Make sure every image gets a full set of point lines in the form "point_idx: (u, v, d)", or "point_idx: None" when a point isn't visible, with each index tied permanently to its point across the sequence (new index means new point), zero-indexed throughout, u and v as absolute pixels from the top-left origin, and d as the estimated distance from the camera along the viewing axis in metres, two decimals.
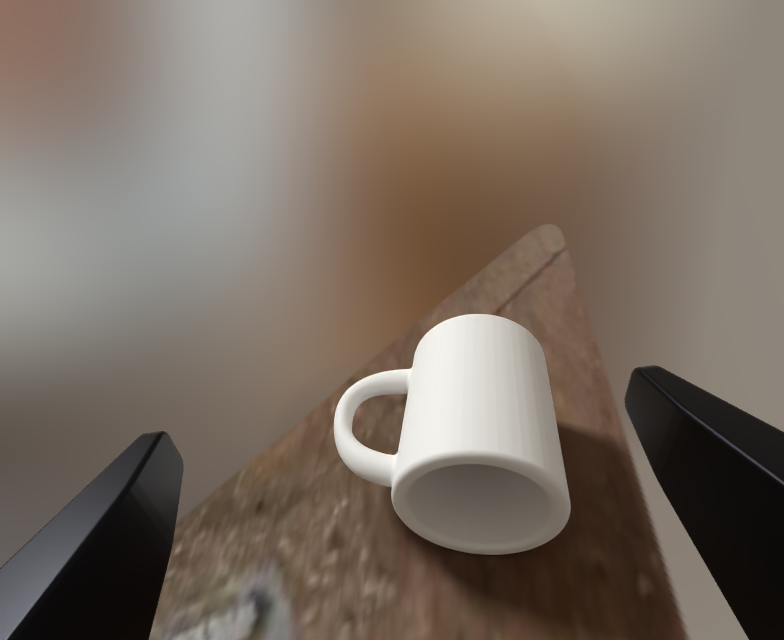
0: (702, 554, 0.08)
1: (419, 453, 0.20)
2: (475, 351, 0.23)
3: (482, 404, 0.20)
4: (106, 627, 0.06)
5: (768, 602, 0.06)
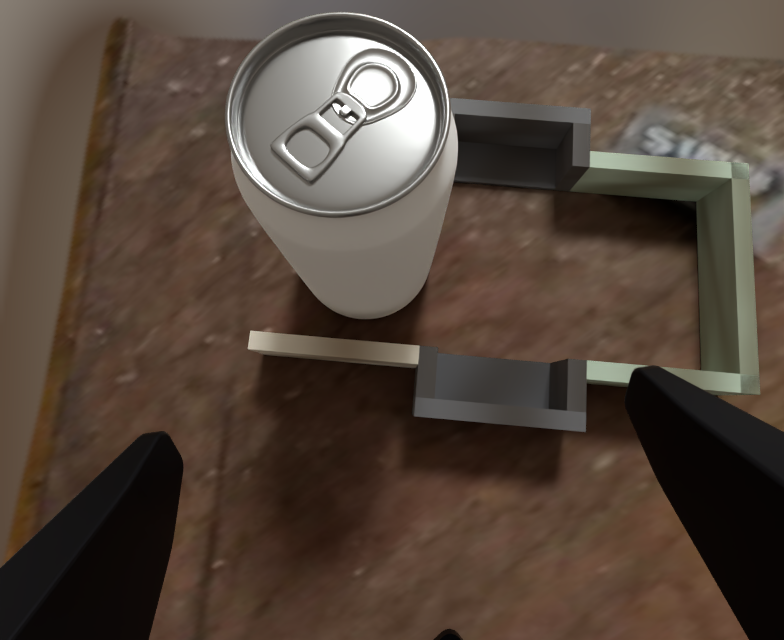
0: (702, 554, 0.08)
1: None
2: None
3: None
4: (106, 627, 0.06)
5: (768, 602, 0.06)
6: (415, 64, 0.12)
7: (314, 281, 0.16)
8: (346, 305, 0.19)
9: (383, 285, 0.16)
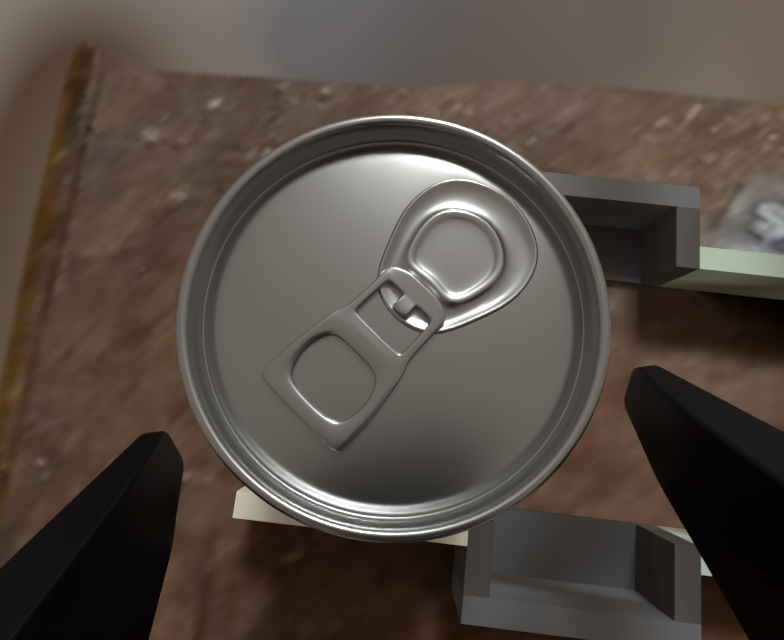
0: (702, 554, 0.08)
1: None
2: None
3: None
4: (106, 627, 0.06)
5: (768, 602, 0.06)
6: (534, 213, 0.06)
7: None
8: None
9: None
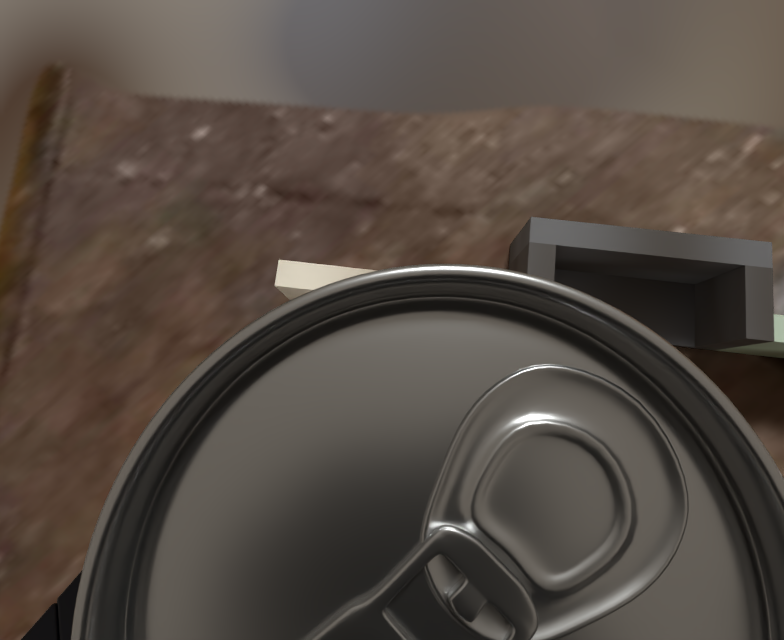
0: None
1: None
2: None
3: None
4: None
5: None
6: (677, 426, 0.04)
7: None
8: None
9: None
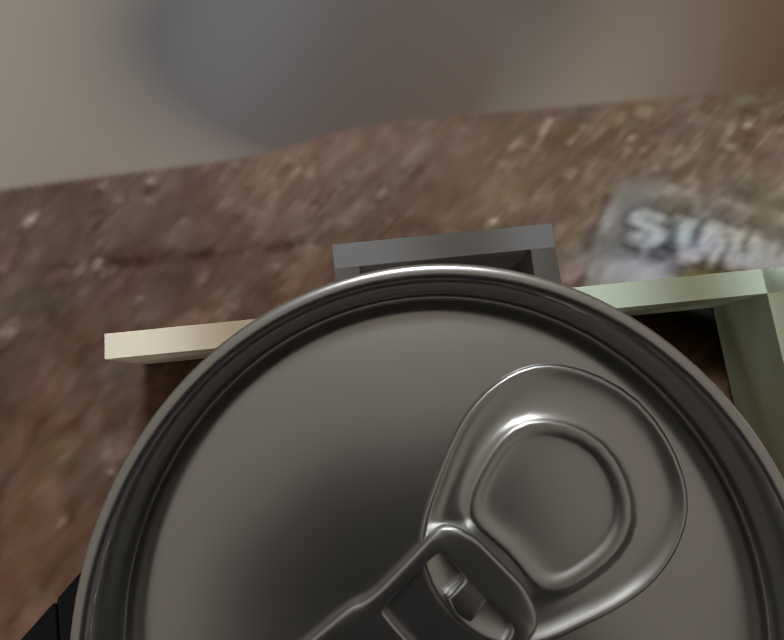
0: None
1: None
2: None
3: None
4: None
5: None
6: (676, 425, 0.04)
7: None
8: None
9: None
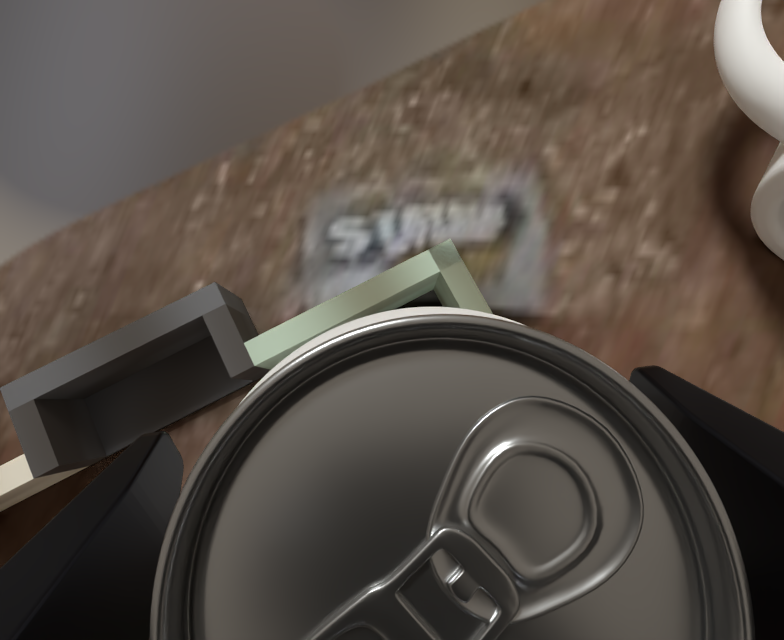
0: None
1: None
2: None
3: None
4: (106, 627, 0.06)
5: (768, 602, 0.06)
6: (637, 448, 0.05)
7: None
8: None
9: None
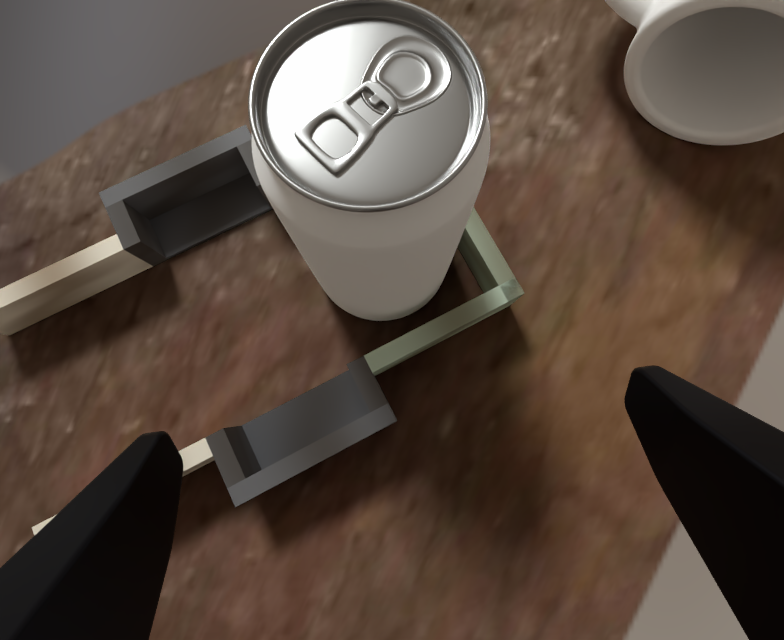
0: (702, 554, 0.08)
1: None
2: None
3: None
4: (106, 627, 0.06)
5: (768, 602, 0.06)
6: (450, 54, 0.11)
7: (330, 279, 0.16)
8: (360, 305, 0.18)
9: (401, 286, 0.15)
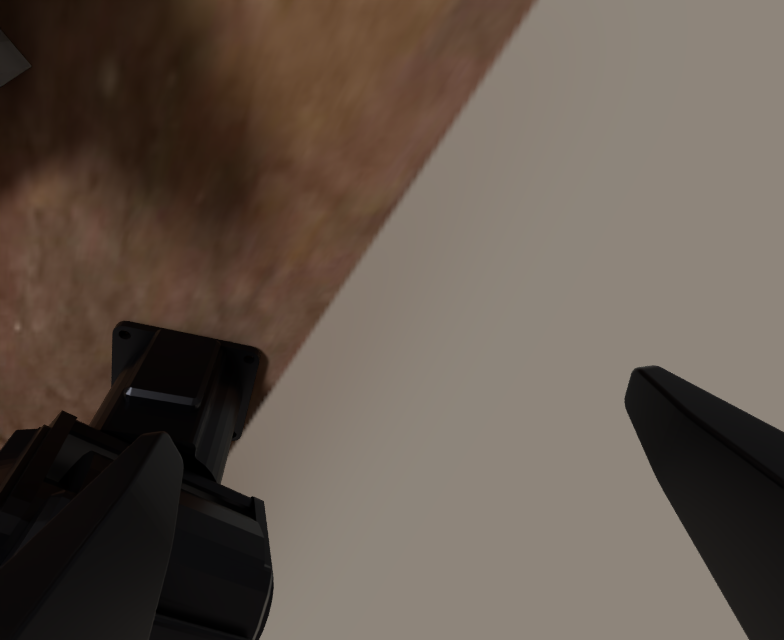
0: (702, 554, 0.08)
1: None
2: None
3: None
4: (106, 627, 0.06)
5: (768, 602, 0.06)
6: None
7: None
8: None
9: None
